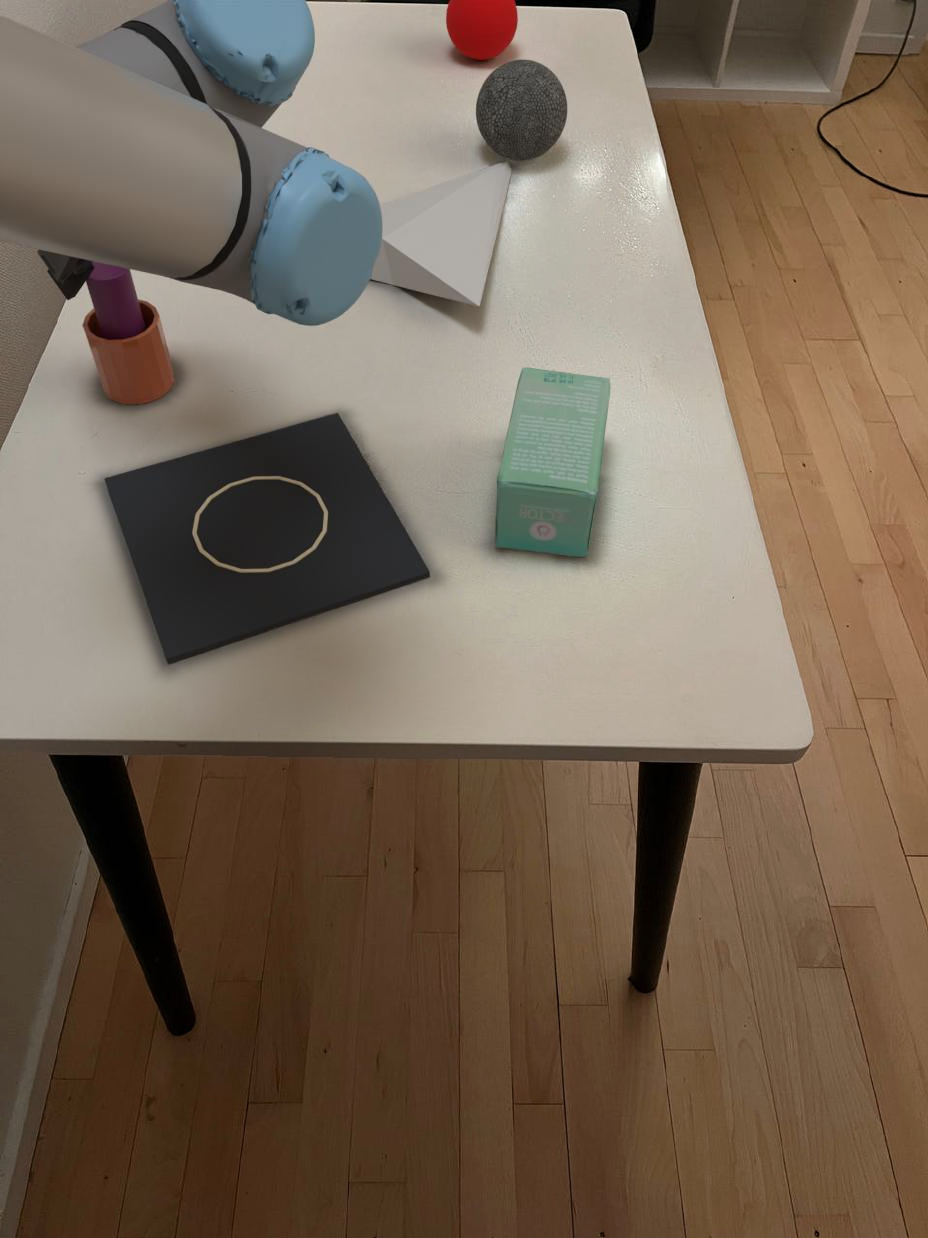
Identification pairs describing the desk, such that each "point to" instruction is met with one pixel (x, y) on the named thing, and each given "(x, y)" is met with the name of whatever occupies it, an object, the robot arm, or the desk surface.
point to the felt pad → (260, 535)
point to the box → (552, 463)
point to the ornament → (481, 26)
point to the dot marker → (115, 302)
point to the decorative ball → (521, 110)
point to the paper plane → (444, 236)
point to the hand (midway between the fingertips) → (83, 272)
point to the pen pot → (132, 360)
